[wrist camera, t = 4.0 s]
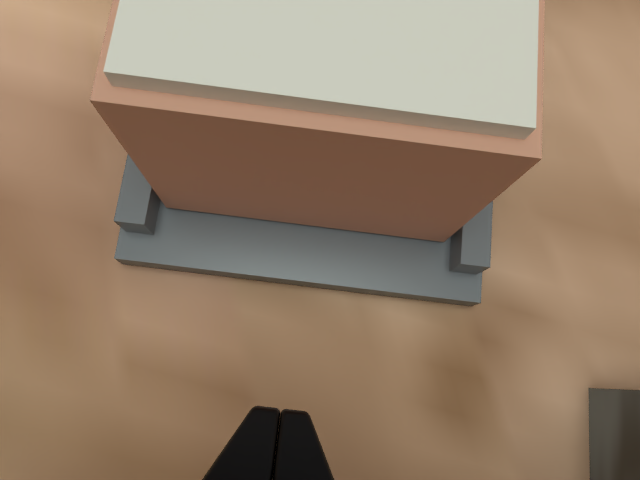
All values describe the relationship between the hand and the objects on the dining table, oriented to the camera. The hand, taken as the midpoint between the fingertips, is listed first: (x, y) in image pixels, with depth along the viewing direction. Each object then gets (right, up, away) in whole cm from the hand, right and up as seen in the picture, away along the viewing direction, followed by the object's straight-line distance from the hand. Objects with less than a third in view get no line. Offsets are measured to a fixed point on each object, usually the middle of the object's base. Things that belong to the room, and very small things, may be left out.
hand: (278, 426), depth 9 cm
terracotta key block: (0, +6, +12) cm, 14 cm away
